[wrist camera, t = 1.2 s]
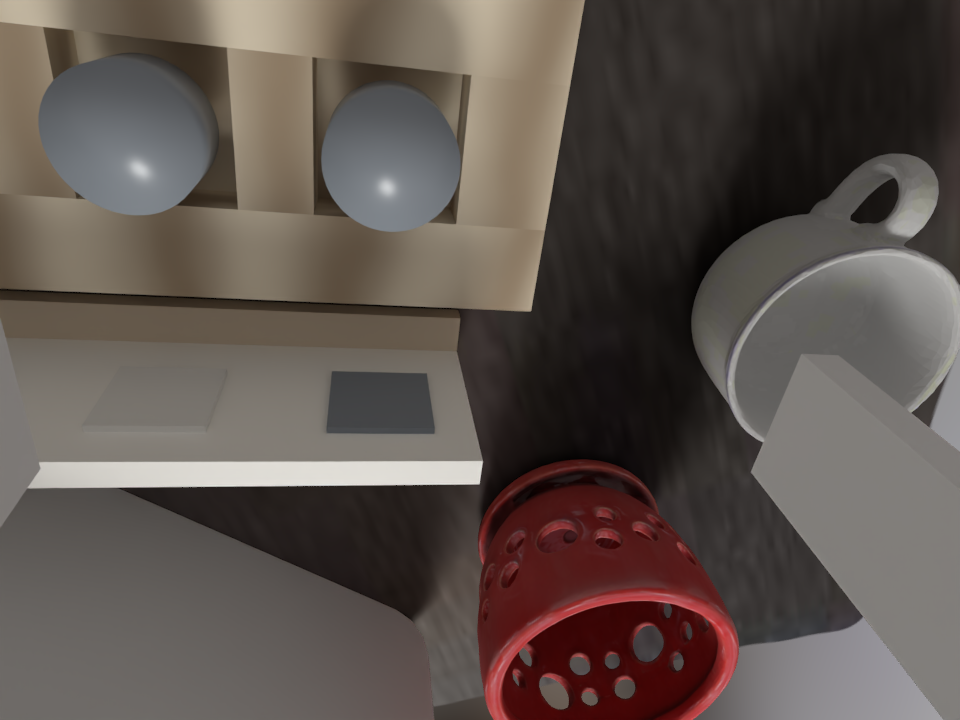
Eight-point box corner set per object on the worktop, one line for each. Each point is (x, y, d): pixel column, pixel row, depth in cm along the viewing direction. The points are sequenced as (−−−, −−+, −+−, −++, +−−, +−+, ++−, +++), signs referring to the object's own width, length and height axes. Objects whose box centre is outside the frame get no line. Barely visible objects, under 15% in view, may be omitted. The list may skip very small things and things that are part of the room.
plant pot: (664, 422, 39) (768, 577, 29) (641, 571, 46) (720, 739, 36) (453, 446, 38) (484, 618, 27) (461, 596, 44) (488, 779, 34)
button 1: (326, 203, 26) (321, 227, 24) (326, 72, 24) (320, 83, 21) (445, 212, 27) (453, 236, 25) (457, 87, 25) (467, 99, 22)
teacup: (782, 390, 39) (868, 475, 32) (630, 348, 36) (691, 433, 29) (928, 173, 33) (1072, 221, 26) (763, 99, 30) (878, 133, 23)
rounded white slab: (-64, 524, 35) (-400, 943, 20) (-4, 432, 33) (-330, 825, 18) (361, 680, 47) (358, 1013, 32) (426, 621, 45) (456, 949, 30)
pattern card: (-87, 380, 31) (-261, 532, 22) (-122, 285, 28) (-333, 414, 20) (449, 391, 36) (474, 518, 27) (458, 309, 33) (488, 422, 25)
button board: (-216, 249, 27) (-277, 276, 24) (-400, -172, 20) (-511, -194, 18) (518, 286, 33) (530, 311, 30) (568, -29, 26) (590, -31, 24)
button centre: (88, 186, 25) (55, 210, 22) (61, 44, 22) (22, 52, 20) (223, 196, 26) (208, 219, 23) (213, 60, 23) (194, 70, 21)
